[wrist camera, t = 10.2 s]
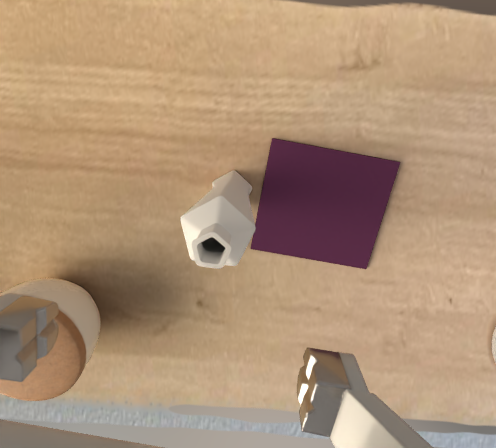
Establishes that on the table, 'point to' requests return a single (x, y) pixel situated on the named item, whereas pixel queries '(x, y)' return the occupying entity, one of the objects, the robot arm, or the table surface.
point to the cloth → (322, 203)
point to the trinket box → (58, 340)
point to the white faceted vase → (220, 223)
